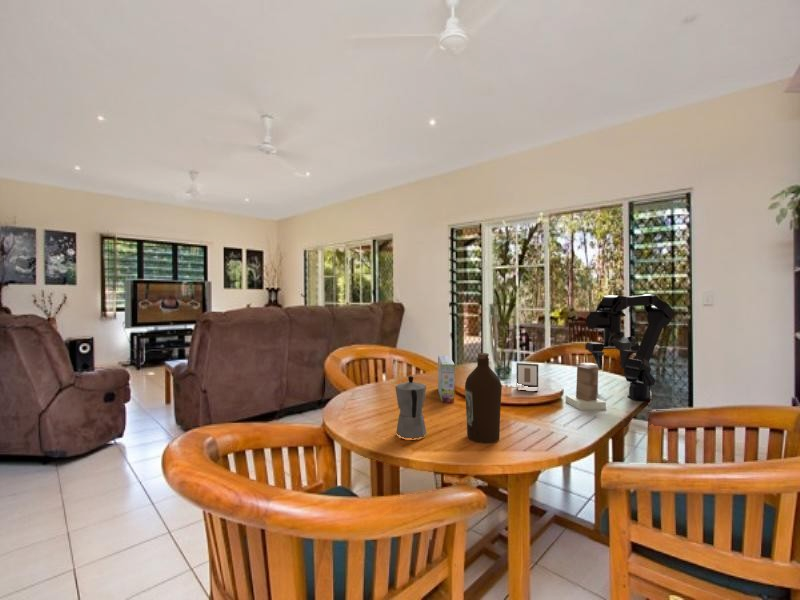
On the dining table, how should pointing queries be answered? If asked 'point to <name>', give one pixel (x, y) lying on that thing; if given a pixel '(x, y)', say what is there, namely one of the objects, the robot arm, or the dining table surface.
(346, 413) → the dining table surface
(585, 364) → the grey block
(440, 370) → the snack box
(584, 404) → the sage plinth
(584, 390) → the walnut block
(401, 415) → the coffeepot
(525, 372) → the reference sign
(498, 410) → the olive oil
